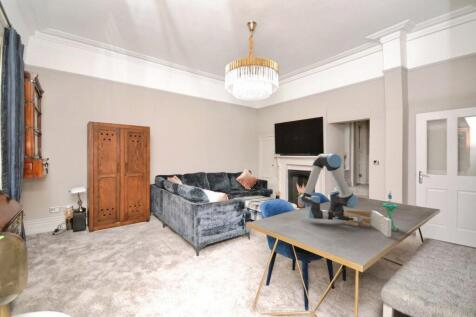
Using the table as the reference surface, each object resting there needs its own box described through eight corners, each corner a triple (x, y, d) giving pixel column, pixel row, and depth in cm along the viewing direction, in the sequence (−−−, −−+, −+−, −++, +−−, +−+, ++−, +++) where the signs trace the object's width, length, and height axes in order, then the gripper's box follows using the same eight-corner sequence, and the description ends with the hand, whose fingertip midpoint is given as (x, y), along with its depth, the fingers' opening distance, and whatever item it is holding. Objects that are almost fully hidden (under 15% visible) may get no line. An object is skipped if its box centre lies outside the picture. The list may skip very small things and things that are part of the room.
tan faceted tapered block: (345, 223, 180) (345, 209, 180) (368, 225, 177) (369, 210, 176) (346, 224, 178) (346, 210, 177) (370, 226, 174) (370, 211, 174)
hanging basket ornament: (380, 225, 177) (381, 189, 177) (396, 227, 173) (397, 190, 172) (382, 229, 168) (383, 191, 167) (399, 231, 163) (400, 192, 162)
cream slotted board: (371, 224, 178) (372, 210, 178) (374, 225, 177) (375, 210, 177) (387, 236, 152) (387, 220, 152) (390, 237, 152) (391, 220, 152)
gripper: (324, 215, 194) (349, 216, 190) (330, 224, 169) (359, 226, 165) (324, 206, 194) (349, 208, 190) (330, 214, 169) (360, 216, 165)
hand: (354, 216), depth 177 cm, fingers open, 13 cm apart
